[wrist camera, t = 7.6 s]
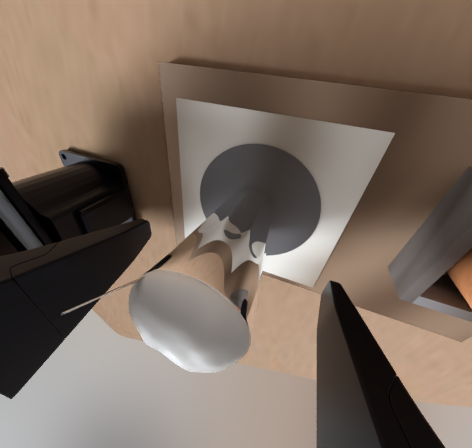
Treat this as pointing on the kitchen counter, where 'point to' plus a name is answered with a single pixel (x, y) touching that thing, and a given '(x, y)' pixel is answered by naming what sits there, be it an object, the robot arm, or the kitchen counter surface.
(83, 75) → the kitchen counter surface
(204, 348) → the milkshake
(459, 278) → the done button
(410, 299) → the board
